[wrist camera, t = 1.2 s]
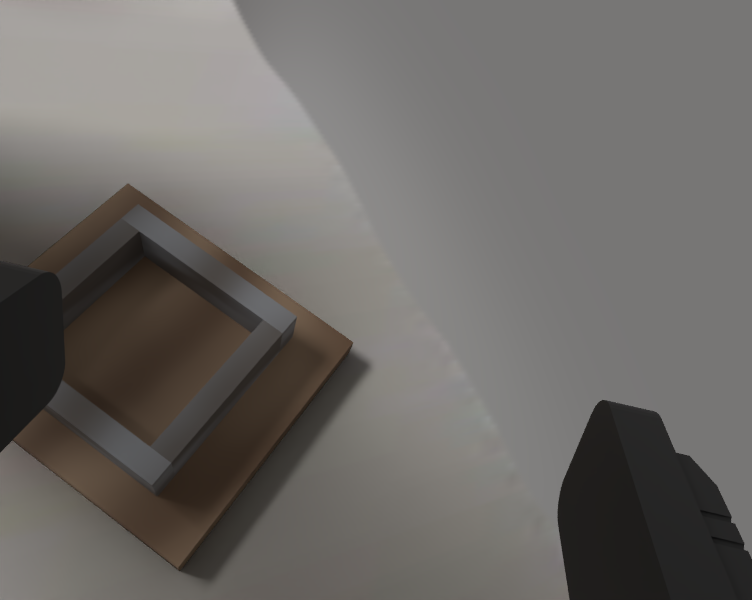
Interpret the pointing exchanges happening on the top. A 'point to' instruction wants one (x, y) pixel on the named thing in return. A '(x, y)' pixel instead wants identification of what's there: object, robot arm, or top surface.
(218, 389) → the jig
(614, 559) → the robot arm
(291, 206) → the top surface
